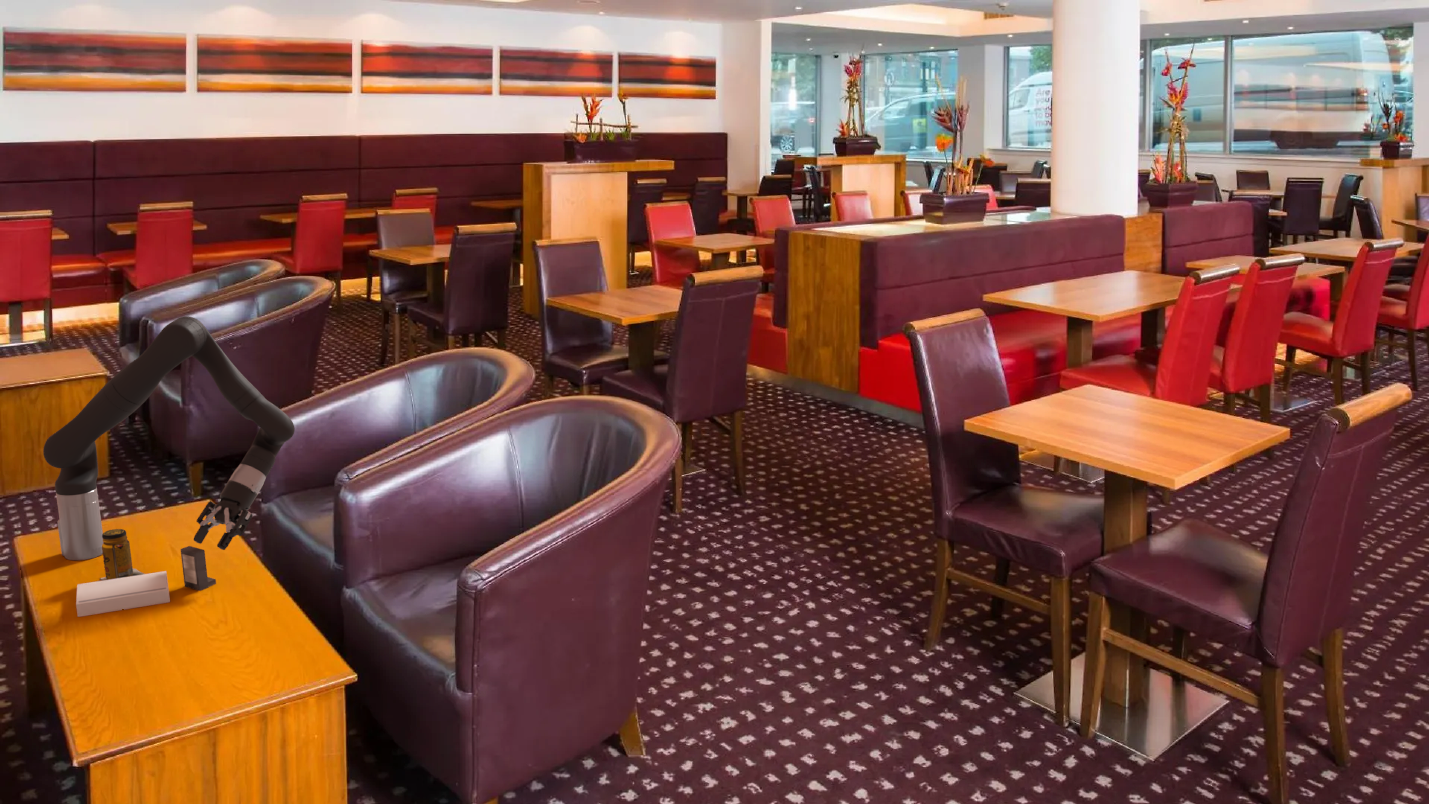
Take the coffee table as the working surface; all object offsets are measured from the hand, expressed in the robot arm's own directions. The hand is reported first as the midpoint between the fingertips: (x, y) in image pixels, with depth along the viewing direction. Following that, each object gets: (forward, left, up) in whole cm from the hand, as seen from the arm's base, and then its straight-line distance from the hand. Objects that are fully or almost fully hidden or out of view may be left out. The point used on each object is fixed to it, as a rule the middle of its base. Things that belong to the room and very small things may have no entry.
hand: (208, 545), depth 290 cm
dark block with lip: (0, -3, -9) cm, 10 cm away
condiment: (-22, -6, -9) cm, 24 cm away
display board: (-11, -16, -9) cm, 22 cm away
